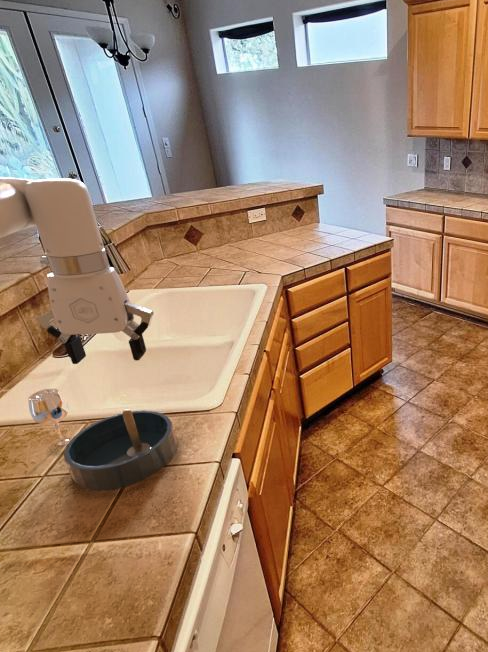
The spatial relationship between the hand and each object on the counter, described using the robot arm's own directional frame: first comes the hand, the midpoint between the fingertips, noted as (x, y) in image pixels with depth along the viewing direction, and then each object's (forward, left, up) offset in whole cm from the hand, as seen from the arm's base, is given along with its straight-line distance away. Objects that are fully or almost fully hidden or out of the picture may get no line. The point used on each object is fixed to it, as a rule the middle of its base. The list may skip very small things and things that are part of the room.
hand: (110, 358), depth 75 cm
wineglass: (-17, +7, -22) cm, 29 cm away
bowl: (-3, 0, -22) cm, 22 cm away
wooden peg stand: (0, 0, -22) cm, 22 cm away
